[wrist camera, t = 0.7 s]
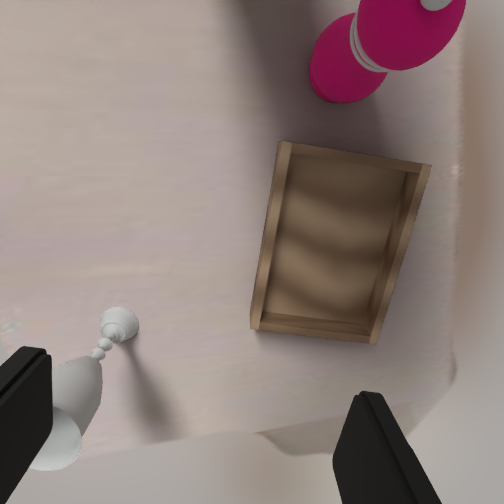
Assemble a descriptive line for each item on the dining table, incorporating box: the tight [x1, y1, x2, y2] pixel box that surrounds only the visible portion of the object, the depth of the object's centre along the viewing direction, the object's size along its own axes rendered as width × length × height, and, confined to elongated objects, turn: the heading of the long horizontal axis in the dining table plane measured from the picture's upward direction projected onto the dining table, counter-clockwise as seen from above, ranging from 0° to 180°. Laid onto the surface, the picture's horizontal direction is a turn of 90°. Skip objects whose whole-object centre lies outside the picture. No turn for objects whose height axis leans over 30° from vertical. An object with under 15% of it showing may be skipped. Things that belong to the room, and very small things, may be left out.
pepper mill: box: [309, 0, 466, 103], centre depth 26 cm, size 7×7×20 cm
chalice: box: [29, 306, 139, 471], centre depth 35 cm, size 7×7×18 cm
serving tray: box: [250, 141, 432, 344], centre depth 39 cm, size 22×16×4 cm
